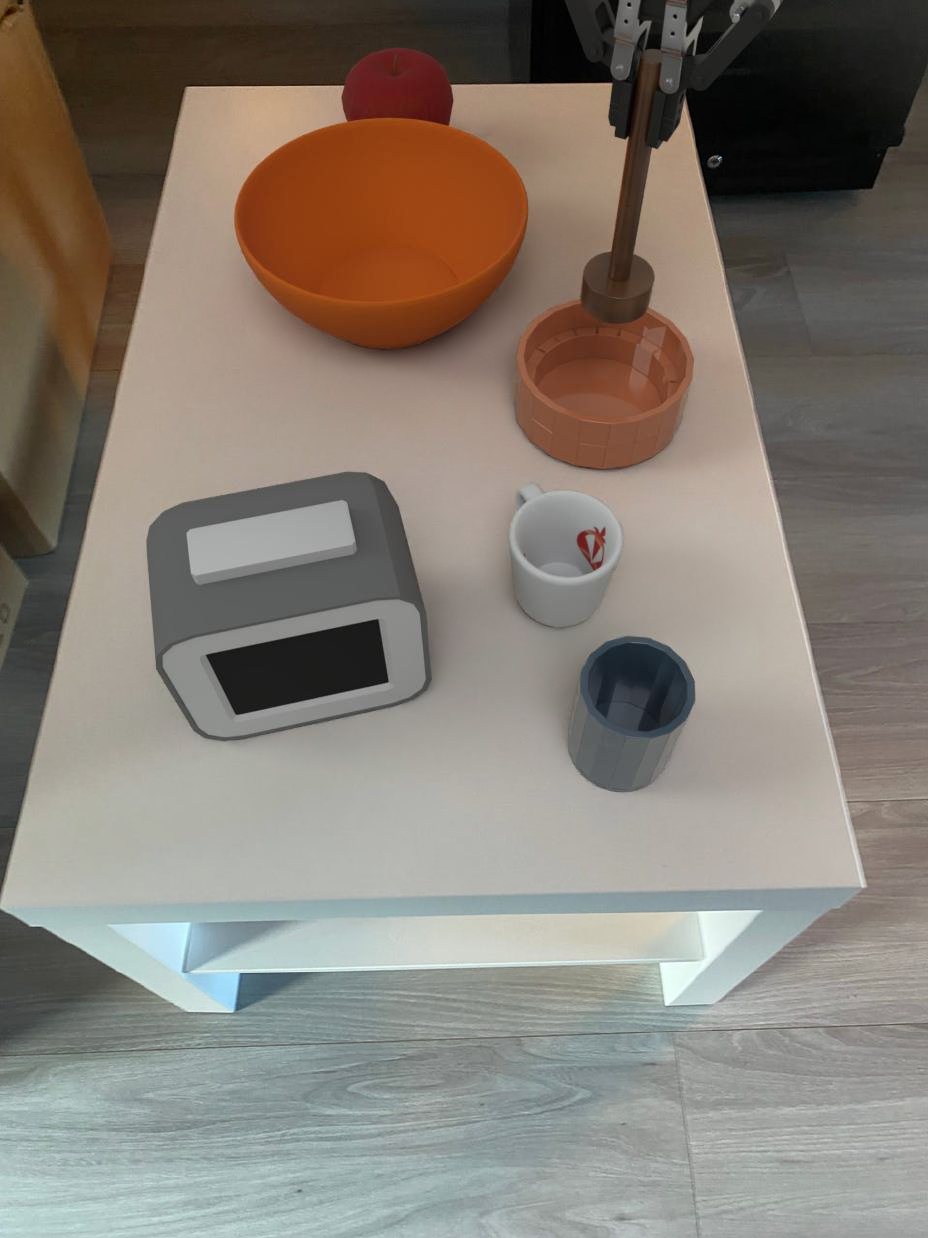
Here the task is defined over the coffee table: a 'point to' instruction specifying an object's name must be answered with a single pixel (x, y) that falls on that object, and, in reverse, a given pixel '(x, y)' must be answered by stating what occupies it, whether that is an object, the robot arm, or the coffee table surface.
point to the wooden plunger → (627, 219)
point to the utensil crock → (629, 712)
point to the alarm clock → (286, 606)
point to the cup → (562, 553)
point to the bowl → (382, 228)
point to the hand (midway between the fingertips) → (640, 135)
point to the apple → (398, 87)
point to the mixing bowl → (601, 386)
